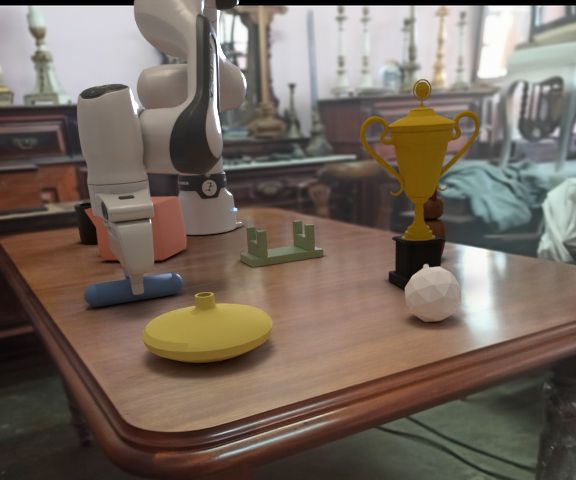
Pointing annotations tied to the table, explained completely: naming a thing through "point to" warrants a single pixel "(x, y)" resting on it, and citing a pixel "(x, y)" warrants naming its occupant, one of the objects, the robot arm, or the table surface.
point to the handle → (122, 291)
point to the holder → (264, 256)
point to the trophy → (418, 176)
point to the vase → (207, 331)
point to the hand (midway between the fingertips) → (135, 289)
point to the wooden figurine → (435, 217)
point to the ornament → (432, 294)
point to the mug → (85, 224)
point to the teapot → (164, 229)
